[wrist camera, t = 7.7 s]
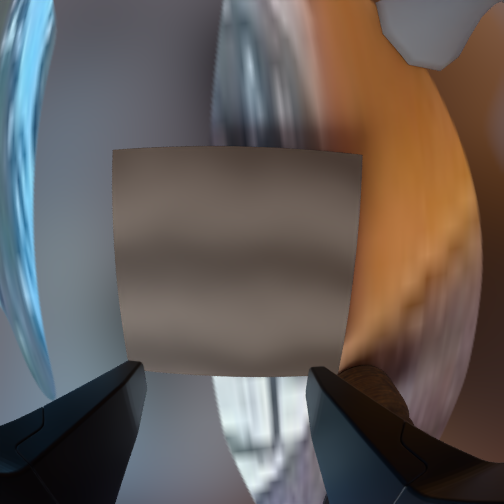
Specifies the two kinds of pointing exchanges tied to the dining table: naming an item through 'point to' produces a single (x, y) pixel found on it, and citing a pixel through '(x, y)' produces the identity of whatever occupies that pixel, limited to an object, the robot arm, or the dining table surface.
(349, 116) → the dining table surface
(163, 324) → the walnut plinth
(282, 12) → the dining table surface
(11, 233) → the dining table surface
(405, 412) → the utensil holder
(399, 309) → the dining table surface
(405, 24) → the flask
